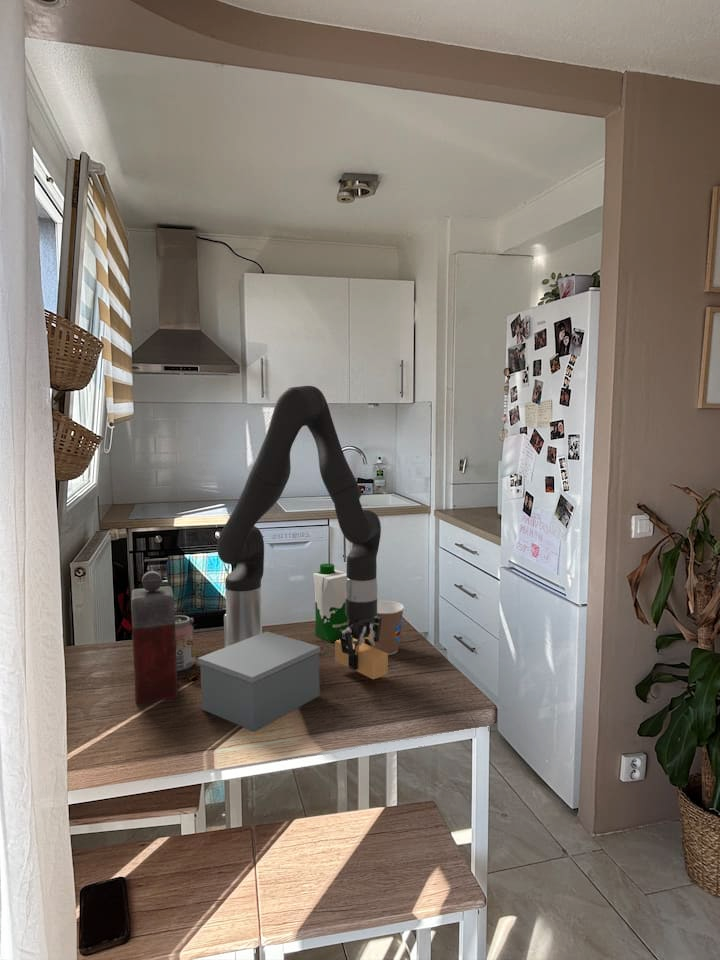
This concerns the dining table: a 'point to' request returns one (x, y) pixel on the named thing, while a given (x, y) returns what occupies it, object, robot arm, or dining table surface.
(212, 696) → the box
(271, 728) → the dining table surface
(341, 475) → the robot arm
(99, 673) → the dining table surface
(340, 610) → the milk carton
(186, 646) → the beverage can
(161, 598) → the decanter
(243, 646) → the lid
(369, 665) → the light orange bar
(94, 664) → the dining table surface
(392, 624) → the coffee cup
